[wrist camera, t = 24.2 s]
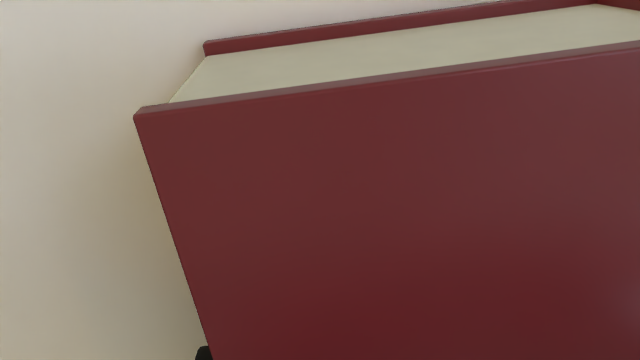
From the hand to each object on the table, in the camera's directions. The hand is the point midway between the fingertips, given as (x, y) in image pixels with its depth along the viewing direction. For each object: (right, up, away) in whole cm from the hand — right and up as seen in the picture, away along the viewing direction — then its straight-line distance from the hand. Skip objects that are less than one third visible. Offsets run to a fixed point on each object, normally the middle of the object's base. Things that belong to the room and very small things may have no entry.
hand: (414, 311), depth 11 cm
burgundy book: (0, 0, 0) cm, 0 cm away
